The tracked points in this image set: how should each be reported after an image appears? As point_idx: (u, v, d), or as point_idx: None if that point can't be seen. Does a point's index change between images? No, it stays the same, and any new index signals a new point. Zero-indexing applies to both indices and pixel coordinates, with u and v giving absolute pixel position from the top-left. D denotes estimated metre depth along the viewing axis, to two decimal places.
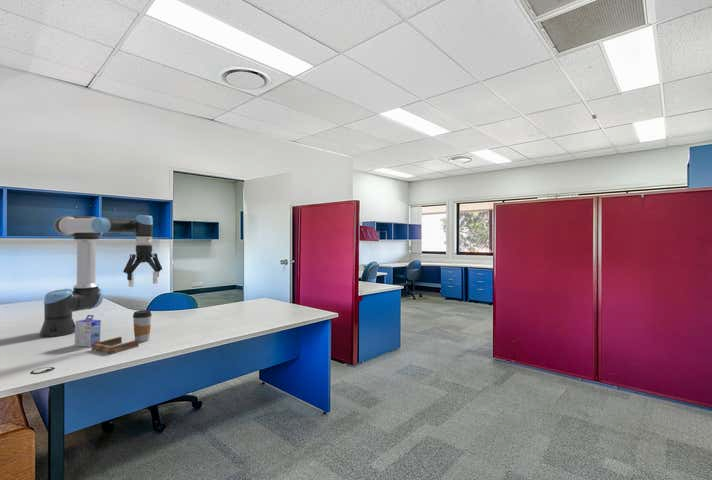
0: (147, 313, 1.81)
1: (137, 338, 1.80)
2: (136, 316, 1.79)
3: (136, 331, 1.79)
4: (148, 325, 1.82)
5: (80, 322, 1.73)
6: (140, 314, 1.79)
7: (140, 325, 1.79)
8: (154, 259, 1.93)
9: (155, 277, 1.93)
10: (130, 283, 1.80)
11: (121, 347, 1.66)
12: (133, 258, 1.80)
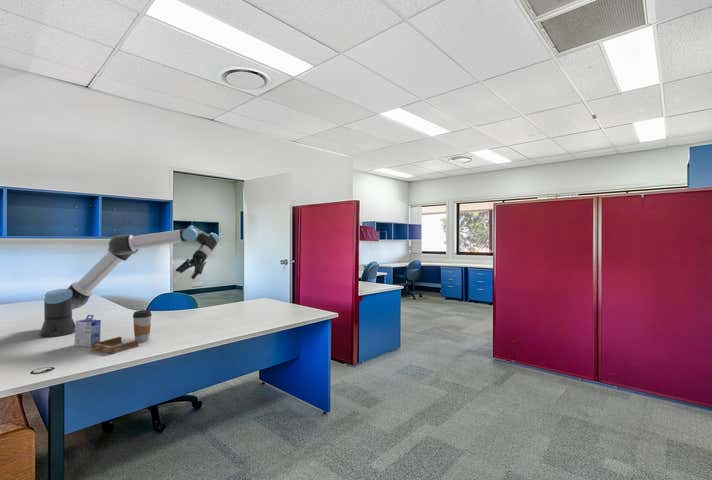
0: (147, 313, 1.81)
1: (137, 338, 1.80)
2: (136, 316, 1.79)
3: (136, 331, 1.79)
4: (148, 325, 1.82)
5: (80, 322, 1.73)
6: (140, 314, 1.79)
7: (140, 325, 1.79)
8: None
9: (177, 277, 2.08)
10: (190, 280, 2.02)
11: (121, 347, 1.66)
12: None
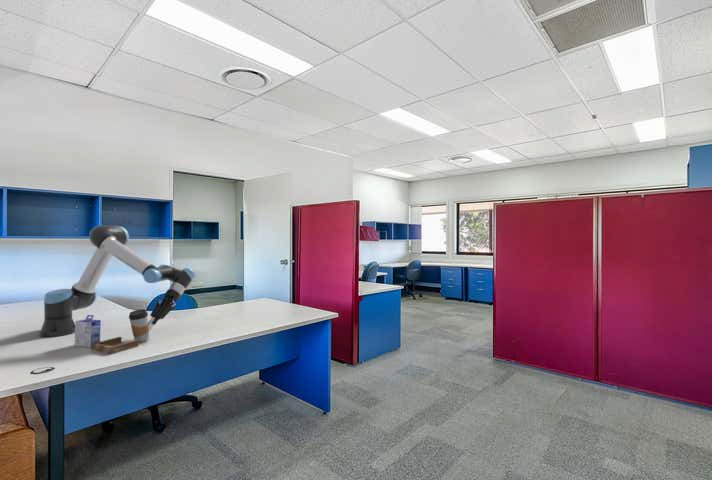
0: (143, 314, 1.79)
1: (136, 338, 1.79)
2: (132, 318, 1.76)
3: (134, 332, 1.78)
4: (146, 325, 1.80)
5: (80, 322, 1.73)
6: (136, 316, 1.76)
7: (137, 327, 1.78)
8: (158, 306, 1.95)
9: None
10: (150, 326, 1.85)
11: (121, 347, 1.66)
12: None
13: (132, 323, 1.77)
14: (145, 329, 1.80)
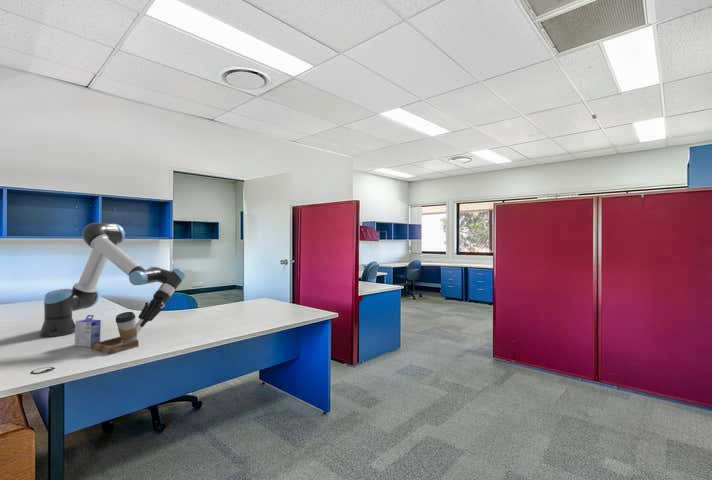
0: (130, 317, 1.72)
1: (124, 342, 1.73)
2: (118, 321, 1.70)
3: (122, 335, 1.72)
4: (133, 328, 1.74)
5: (80, 322, 1.73)
6: (122, 319, 1.70)
7: (124, 330, 1.72)
8: (147, 307, 1.89)
9: None
10: (138, 329, 1.79)
11: (121, 347, 1.66)
12: None
13: (119, 326, 1.71)
14: (133, 332, 1.74)
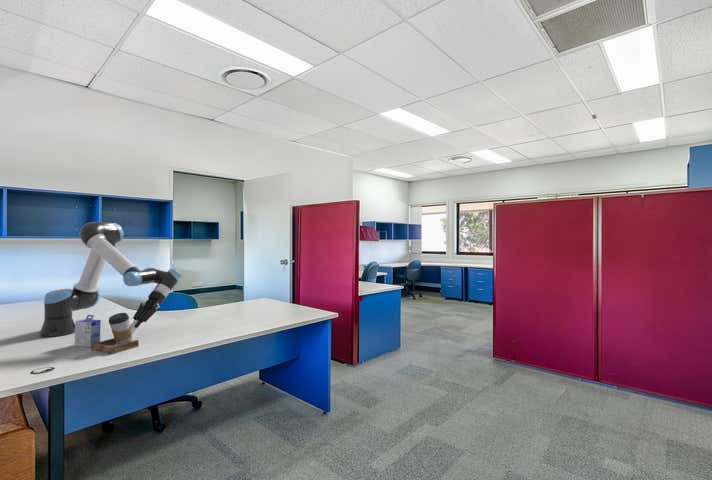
0: (123, 317, 1.70)
1: (119, 343, 1.71)
2: (112, 322, 1.68)
3: (116, 337, 1.70)
4: (127, 329, 1.72)
5: (80, 322, 1.73)
6: (116, 320, 1.68)
7: (118, 331, 1.69)
8: (142, 308, 1.87)
9: None
10: (132, 330, 1.77)
11: (121, 347, 1.66)
12: None
13: (112, 328, 1.69)
14: (127, 333, 1.72)
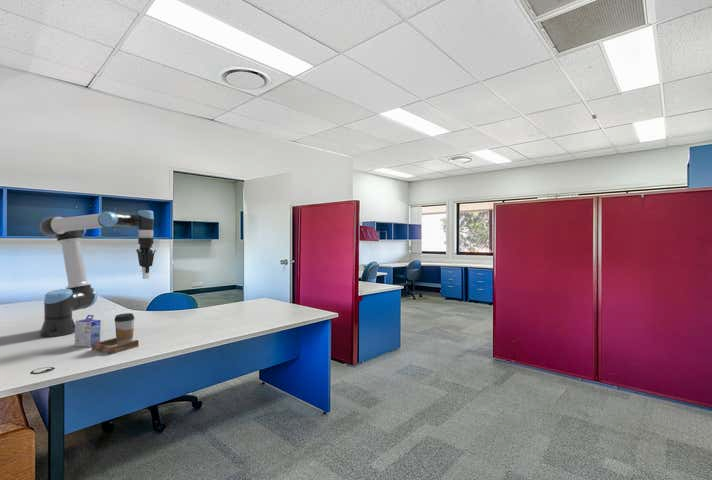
0: (130, 316, 1.73)
1: (120, 343, 1.71)
2: (118, 320, 1.70)
3: (118, 336, 1.71)
4: (131, 329, 1.74)
5: (80, 322, 1.73)
6: (122, 318, 1.71)
7: (122, 329, 1.71)
8: None
9: None
10: (146, 275, 2.03)
11: (121, 347, 1.66)
12: None
13: (117, 326, 1.71)
14: (130, 333, 1.74)
